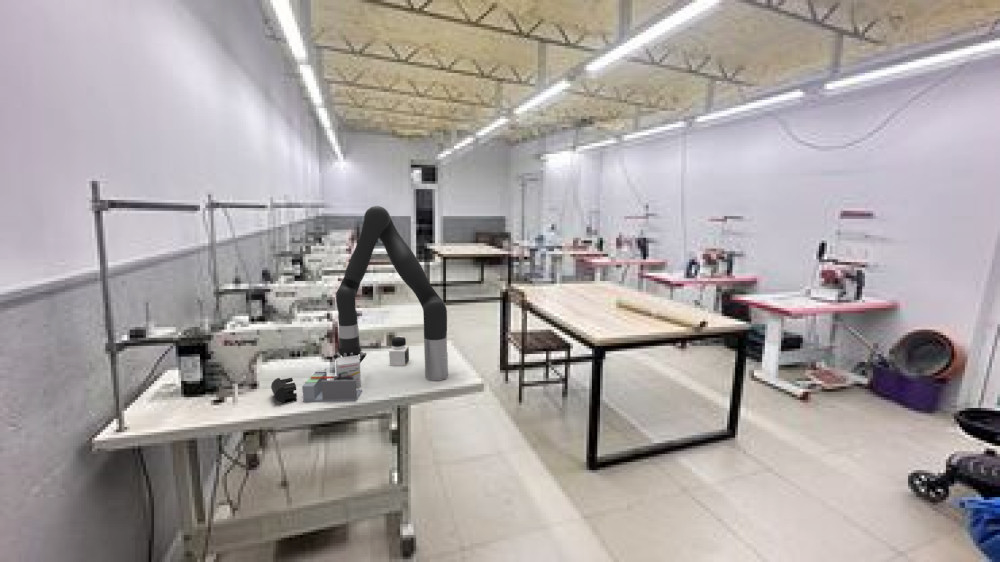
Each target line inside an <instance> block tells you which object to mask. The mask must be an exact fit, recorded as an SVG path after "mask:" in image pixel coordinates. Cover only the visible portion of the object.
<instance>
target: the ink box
mask: <svg viewBox="0 0 1000 562" xmlns="http://www.w3.org/2000/svg"><path fill="white" fill-rule="evenodd" d="M359 356H360V355H358V356H357V355H356V356H348V357H342V356H341V358H337V359H336V360H335V369H336V371H335V372H336V375H335V376H337V377H353V378H354V380H356V388H361V387H362V385H361V384H362V383H361V381H362V380H361V379H362V378H361V363H360V357H359Z"/></svg>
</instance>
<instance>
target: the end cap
mask: <svg viewBox="0 0 1000 562" xmlns="http://www.w3.org/2000/svg"><path fill="white" fill-rule="evenodd" d="M293 381H294V380H293V377H288V378H282V379H281V378H280V377H277V378H275V379H274V380H273V381H272V382H271V385H270V388H271V392H272V394H273V396H274V399H275V400H276V401H277V402H278V403H280V404H283V405H285V404H290V403H294V402H297V401H298V399H297V397H298V394H297V392H295V391H297V385H296V383H295V382H293Z"/></svg>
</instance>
